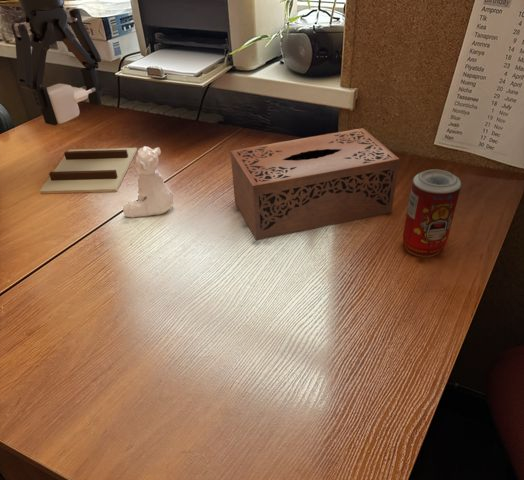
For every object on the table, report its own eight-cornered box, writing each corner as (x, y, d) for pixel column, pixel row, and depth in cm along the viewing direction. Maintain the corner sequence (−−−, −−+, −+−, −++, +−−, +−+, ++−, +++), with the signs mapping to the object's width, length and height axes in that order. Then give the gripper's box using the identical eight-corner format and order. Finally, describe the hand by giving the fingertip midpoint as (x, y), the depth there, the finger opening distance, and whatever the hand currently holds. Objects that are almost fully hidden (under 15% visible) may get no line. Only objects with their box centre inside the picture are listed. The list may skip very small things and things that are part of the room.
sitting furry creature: (146, 193, 101) (132, 133, 92) (185, 199, 99) (174, 137, 90) (122, 217, 95) (105, 154, 86) (162, 223, 92) (149, 160, 84)
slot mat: (40, 193, 103) (36, 184, 101) (69, 152, 117) (66, 143, 116) (116, 191, 102) (114, 182, 101) (137, 150, 116) (135, 141, 115)
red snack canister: (415, 263, 80) (429, 191, 72) (393, 240, 85) (404, 171, 76) (453, 254, 82) (472, 182, 73) (430, 232, 86) (445, 163, 78)
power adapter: (86, 103, 105) (78, 73, 101) (103, 107, 103) (95, 76, 99) (44, 122, 99) (34, 90, 95) (61, 126, 97) (51, 94, 93)
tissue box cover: (256, 240, 87) (252, 186, 80) (234, 201, 97) (230, 150, 90) (391, 212, 92) (399, 159, 85) (357, 178, 102) (362, 128, 94)
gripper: (71, -33, 94) (102, 92, 110) (-39, -8, 80) (14, 131, 96) (100, -31, 91) (128, 97, 107) (-9, -5, 77) (41, 138, 93)
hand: (74, 113), depth 101 cm, fingers closed on power adapter, 11 cm apart
